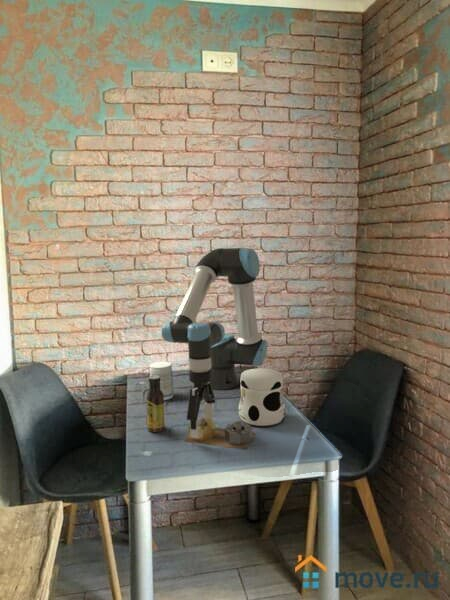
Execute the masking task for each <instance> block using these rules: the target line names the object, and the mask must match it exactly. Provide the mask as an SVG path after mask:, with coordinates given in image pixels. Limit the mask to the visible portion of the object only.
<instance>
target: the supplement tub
mask: <svg viewBox="0 0 450 600" xmlns="http://www.w3.org/2000/svg"><path fill="white" fill-rule="evenodd" d="M153 375H158V376H160V389H161V391H162V392H163V395H164V401H168V400H170V399H172V398H173V397H174V376H173V366H172V362H170V361H154V362H151V363H150V364H149V377H150V376H153Z"/></svg>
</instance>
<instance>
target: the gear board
mask: <svg viewBox="0 0 450 600" xmlns="http://www.w3.org/2000/svg"><path fill="white" fill-rule="evenodd" d="M198 419H199V426H201V427H203V426H205V417H201V416H200V417H199V418H198ZM234 423H235V426H236V431H242V427H241V423H242V421H237V420H236V421H235V422H234ZM256 435H257V433H254V432H252V436H253V439H252V441H251V442H250V444H246V445H242V446H236V445H230V444H228V443H227V442H226V441H225V429H220V428H216V435H215V436H214V437H213V439H209V440H205V441H198V440H192V439H191V438H190V437H189V435H187V437H186V438H185V439H184V440H183V442H185V443H193V444H199V445H208V446H216V447H223V448H224V447H225V448H232V449H238V450H239V449H240V450H248V449H249V447H250V445H251V443H252V442H253V441H254V438H255V436H256Z"/></svg>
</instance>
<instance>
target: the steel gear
mask: <svg viewBox="0 0 450 600" xmlns="http://www.w3.org/2000/svg"><path fill="white" fill-rule="evenodd" d="M241 427H242V431H236V426H235V422H234V423H230V424H227V425H226V427H224V430H225V441H226V442H227V443H228V444H230V445H236V446H242V445H246V444H250V442H251V441H252V442H253V440H254V438H253V436H252V433H253V426H251V425H248V424H246V423H245V422H241ZM252 439H253V440H252ZM252 442H251V443H252ZM250 445H251V444H250Z"/></svg>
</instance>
